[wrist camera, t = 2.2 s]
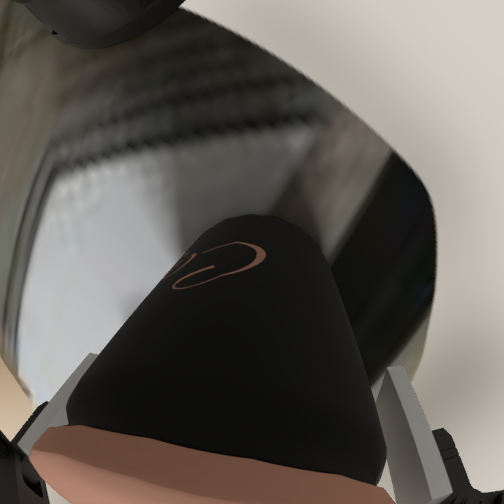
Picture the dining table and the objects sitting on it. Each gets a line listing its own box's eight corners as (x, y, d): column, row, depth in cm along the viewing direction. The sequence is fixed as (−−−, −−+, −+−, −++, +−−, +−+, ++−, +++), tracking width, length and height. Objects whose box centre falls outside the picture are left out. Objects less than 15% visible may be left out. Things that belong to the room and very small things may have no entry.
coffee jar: (268, 178, 19) (164, 399, 2) (355, 293, 21) (437, 528, 4) (161, 268, 22) (5, 455, 5) (248, 358, 24) (209, 563, 7)
